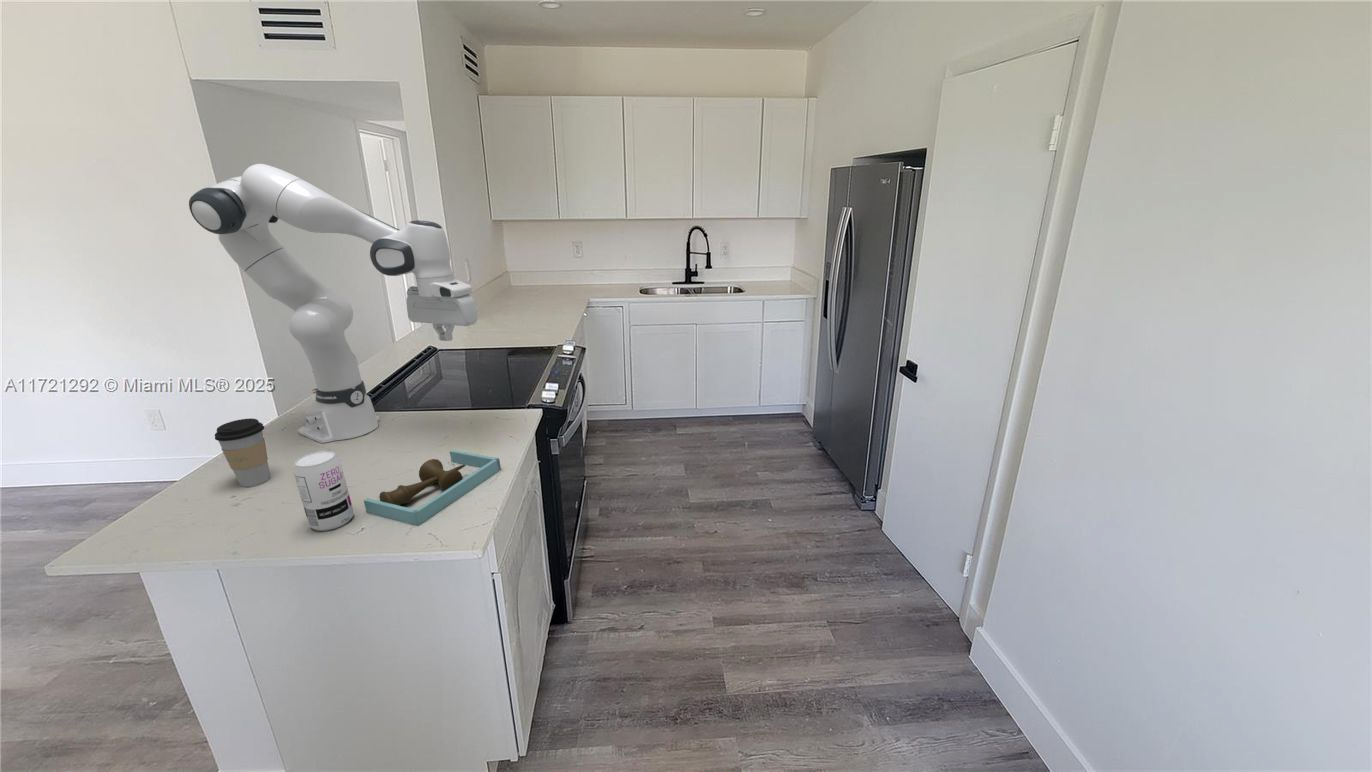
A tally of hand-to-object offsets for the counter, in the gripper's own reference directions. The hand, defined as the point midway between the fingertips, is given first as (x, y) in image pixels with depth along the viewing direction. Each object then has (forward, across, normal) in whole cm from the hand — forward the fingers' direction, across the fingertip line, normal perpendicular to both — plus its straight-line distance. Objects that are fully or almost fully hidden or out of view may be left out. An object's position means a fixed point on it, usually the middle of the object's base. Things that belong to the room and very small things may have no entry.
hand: (446, 340), depth 144 cm
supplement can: (+29, +2, -41) cm, 50 cm away
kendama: (+30, +12, -25) cm, 41 cm away
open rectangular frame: (+29, +13, -23) cm, 39 cm away
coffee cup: (+29, -33, -35) cm, 56 cm away
